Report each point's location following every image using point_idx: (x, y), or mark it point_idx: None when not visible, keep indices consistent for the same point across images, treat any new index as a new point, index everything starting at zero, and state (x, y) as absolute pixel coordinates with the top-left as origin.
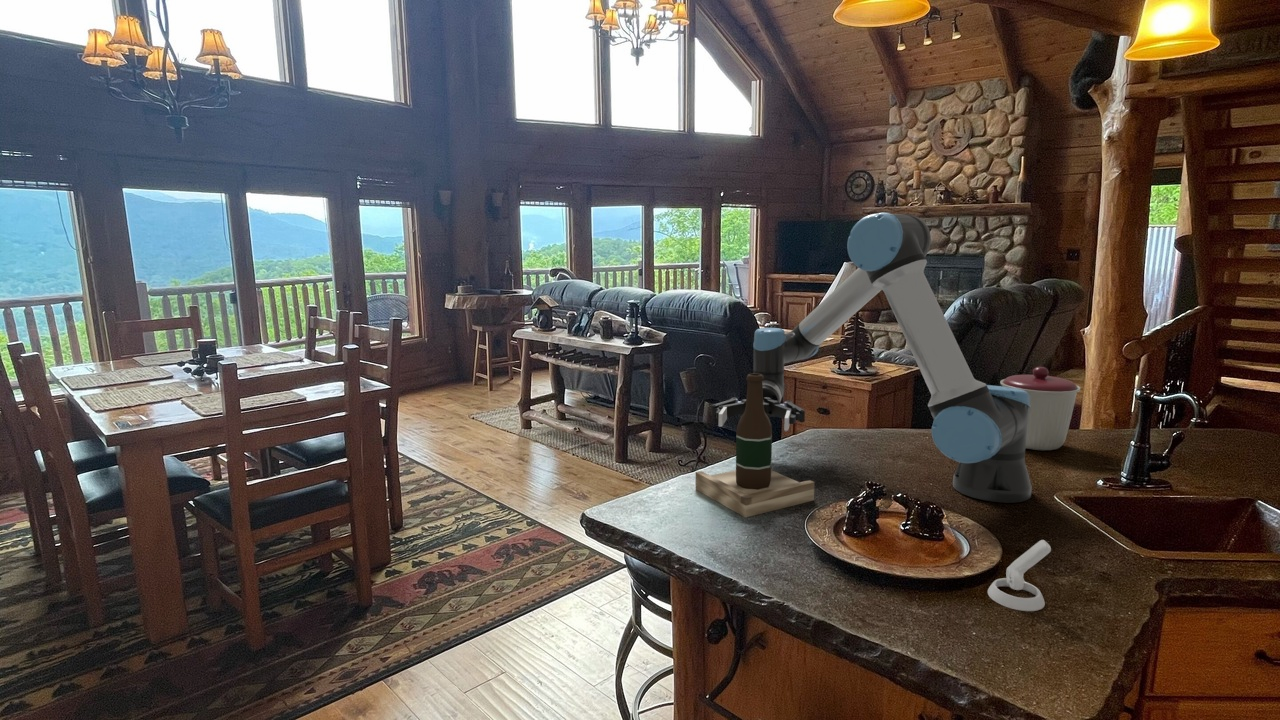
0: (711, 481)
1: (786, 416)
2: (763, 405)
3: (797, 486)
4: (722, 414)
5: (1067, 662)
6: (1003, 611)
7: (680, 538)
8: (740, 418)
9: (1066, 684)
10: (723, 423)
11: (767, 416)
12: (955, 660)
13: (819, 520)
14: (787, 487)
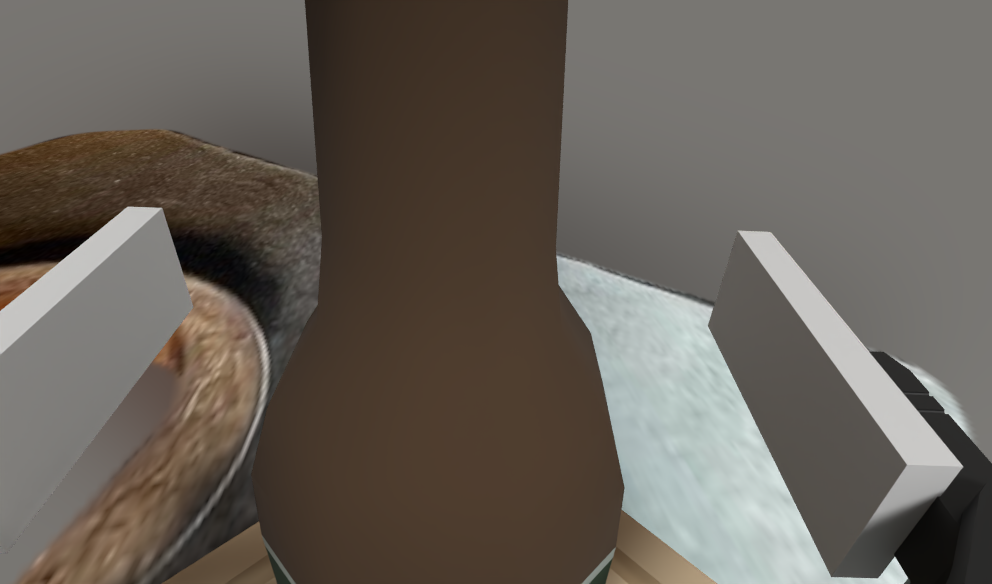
0: (672, 553)
1: (116, 236)
2: (322, 248)
3: (193, 564)
4: (743, 248)
5: (38, 161)
6: (13, 211)
7: (616, 313)
8: (584, 324)
9: (82, 144)
10: (735, 369)
11: (288, 369)
12: (186, 154)
13: (180, 472)
14: (259, 534)
